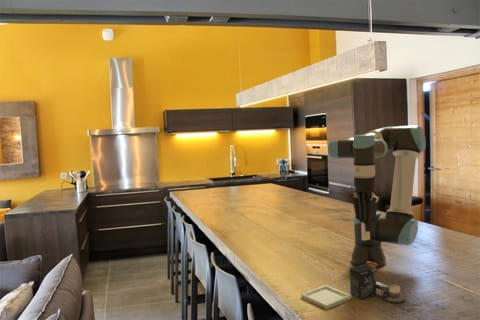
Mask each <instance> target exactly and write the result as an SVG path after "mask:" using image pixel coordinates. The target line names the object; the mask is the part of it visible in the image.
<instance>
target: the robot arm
mask: <svg viewBox="0 0 480 320" xmlns="http://www.w3.org/2000/svg"><path fill="white" fill-rule="evenodd" d="M426 143H427V142H426V135H425V132H424V129H423V128H422V127H421V126H419V125H412V124H411V125H397V126H396V125H395V126H384V127H381V128H376V129H373V130H370V131H367V132H366V133H365V134H355V135H354V136H353V137H349V138H344V139H333V140H330V142H329V143H328V147H327V149H328V155H329V156H330V158H333V159H353V176H355V177H354V178H353V186H354V188H355V190H354V191H355V192H354V193H350V197H351V200H352V203H353V209H354V219H353V222H354V223H353V227H354V230H353V231H354V248H353V251H352V254H351V258H350V259H351V263H352V264H354V265H355V266H360V265H364V264H367V261H370V262H373V263H377V266H375V268H377V267H379V268H380V267H383V266H384V265H386V263H387V262H386V261H387V258H386V255H385V253H384V249H383V247H382V246H383V245H382V243H385V244H387V243H388V244H393V245H398V246H410V245H412V244H413V243H414V242H415V240H416V238H417V234H418V231H419V222H418V220H417V219H416V218H415V215H414V213H413V212H412V203H413V193H414V192H413V190H414V181H415V173H416V172H415V171H416V163H417V159H418V158H419V157H420V156H421V152H424V151H425V150H426V147H427V146H426V145H427V144H426ZM388 152H392V155H393V156H394V157H395V160H394V170H393V177H392V178H393V179H392V187H391V188H392V189H391V196H390V198H391V199H390V206H389V209H387V210H386V211H385V215H382V213H381V212H380V211H378V205H379V202H380V200H381V197H380V196H377V195H376V193H375V187H376V177H375V176H376V160H375V159H380V158H382V157H384V156H385V155H386V154H387V153H388ZM367 265H369V264H367Z"/></svg>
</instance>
